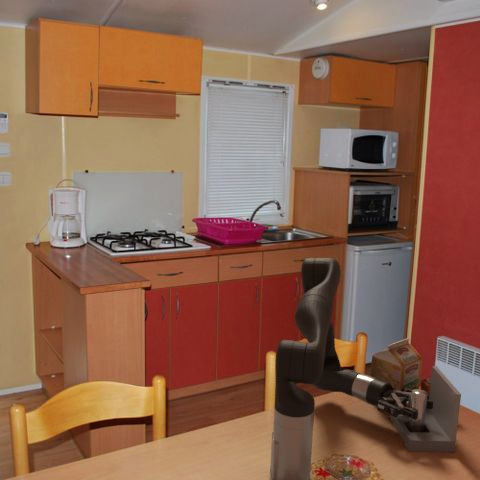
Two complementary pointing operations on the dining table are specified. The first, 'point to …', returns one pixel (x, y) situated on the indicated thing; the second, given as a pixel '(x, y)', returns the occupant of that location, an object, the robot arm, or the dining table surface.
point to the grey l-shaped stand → (434, 418)
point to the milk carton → (398, 366)
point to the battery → (426, 386)
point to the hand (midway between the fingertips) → (425, 410)
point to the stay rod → (418, 410)
